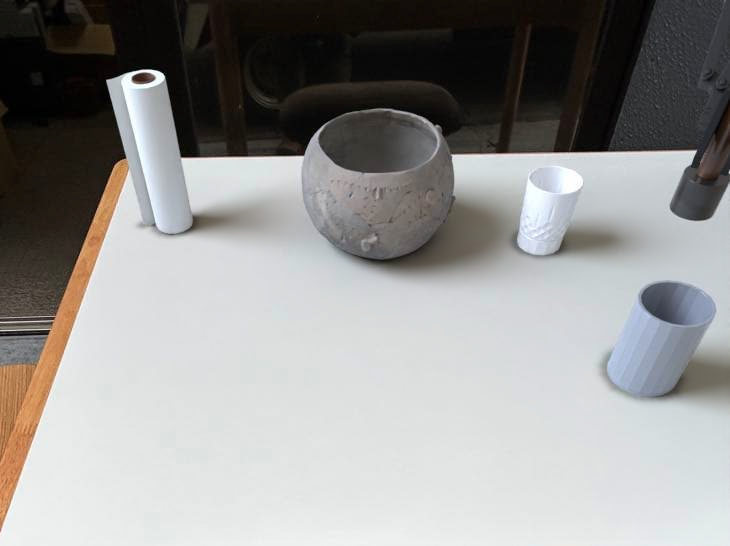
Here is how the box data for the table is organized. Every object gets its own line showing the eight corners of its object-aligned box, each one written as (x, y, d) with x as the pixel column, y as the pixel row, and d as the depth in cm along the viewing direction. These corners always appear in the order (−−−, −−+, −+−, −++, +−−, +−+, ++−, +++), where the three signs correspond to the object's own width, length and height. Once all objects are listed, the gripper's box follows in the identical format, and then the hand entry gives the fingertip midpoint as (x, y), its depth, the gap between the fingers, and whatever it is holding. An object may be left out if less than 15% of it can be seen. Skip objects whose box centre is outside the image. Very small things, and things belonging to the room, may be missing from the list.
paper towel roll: (200, 221, 108) (173, 73, 90) (176, 239, 105) (143, 90, 88) (168, 208, 110) (135, 62, 93) (144, 225, 108) (105, 78, 90)
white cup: (518, 225, 106) (534, 161, 97) (567, 235, 104) (587, 170, 96) (508, 252, 102) (523, 188, 93) (559, 262, 100) (578, 198, 92)
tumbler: (682, 365, 87) (723, 293, 78) (666, 406, 83) (707, 336, 74) (617, 344, 89) (649, 272, 80) (598, 383, 85) (629, 312, 76)
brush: (718, 204, 77) (804, 30, 62) (708, 225, 74) (795, 50, 60) (675, 193, 78) (749, 21, 64) (664, 213, 76) (738, 39, 62)
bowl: (278, 255, 102) (269, 155, 90) (340, 185, 114) (340, 87, 101) (414, 293, 97) (425, 192, 84) (466, 214, 108) (482, 115, 95)
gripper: (904, -50, 64) (778, 198, 70) (740, -72, 68) (635, 163, 75) (942, -111, 57) (799, 170, 63) (757, -131, 62) (640, 133, 68)
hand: (710, 166), depth 69 cm, fingers closed on brush, 2 cm apart
